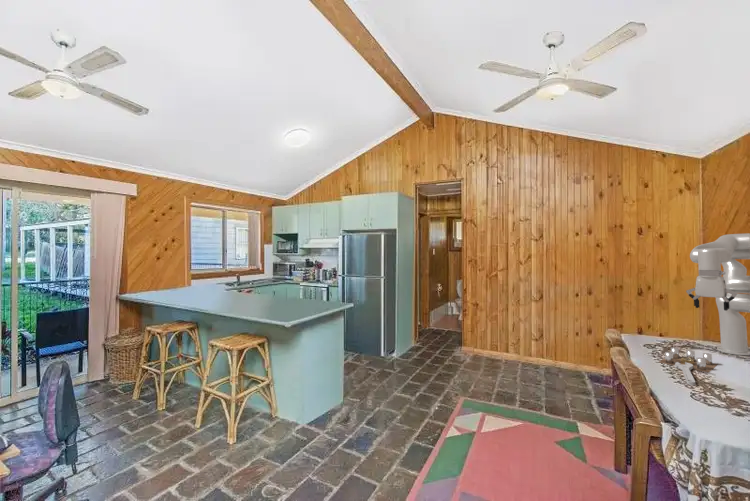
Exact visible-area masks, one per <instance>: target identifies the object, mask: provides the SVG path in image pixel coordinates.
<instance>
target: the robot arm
mask: <svg viewBox="0 0 750 501" xmlns="http://www.w3.org/2000/svg"><path fill="white" fill-rule="evenodd" d="M689 259H690V260H691V262H692V263H694V264H698V276H696V278H695V287H693V288H690V289H687V290H685V291H686V294H687V295H688V297H690V299H692V300H693V306H694V307H695V309H699V308H700V297H704V298H715V303H716V307H717V310H718V317H719V318H718V320H719V333H720V334H719V335H720V345H719V346H717V347H716V349H717V350H718V351H719V352H722V353H725V354H729V355H737V356H750V349H749V347H748V332H747V330H748V329H747V320H746V317H744V316H743V315H742V314H741V313H750V275H747V273H748V272H747V271H748V269H747V267H746V266H745V265H744V264H743V263H742V262H740V261H738V260H750V233H749V232H748V233H733V234H732V233H731V234H730V233H728V234H724V235H721V236H719V237H718V238H717V239H716V240H714V241H712V242H708V243H707V242H706V243H702V244H699V245H697V246H695V247H694V248H693V249H692V250H691V251H690V253H689ZM721 266H722V267H721ZM722 268H723V270H722ZM693 292H695V295H694V294H693Z"/></svg>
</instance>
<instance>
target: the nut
mask: <svg viewBox="0 0 750 501" xmlns="http://www.w3.org/2000/svg"><path fill="white" fill-rule="evenodd" d="M685 362H687V363H690V364H692V365H693V364H694V360H693V359H690V358H687V357H682V358H681V363H684V364H685Z"/></svg>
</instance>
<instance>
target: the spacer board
mask: <svg viewBox="0 0 750 501" xmlns="http://www.w3.org/2000/svg"><path fill="white" fill-rule="evenodd" d="M681 358H683V357H681V356H679V359H674V358H673V361H674V363H673V364H670V363H666V362H665V358H662V359H661V360H659V361H658V363H661V364H665V365H670V366H674V367H675V363H676V362H679V363H680V364H681V365H685V364H684V363H681ZM717 366H719V363H713V362H712V365H706V370H699V369H697V360H696V359H695V362H694V364H693V369H692V370H694V371H699V372H705V373H710V372H711V371H712V370H714V369H715V368H716V367H717Z"/></svg>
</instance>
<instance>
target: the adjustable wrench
mask: <svg viewBox="0 0 750 501" xmlns="http://www.w3.org/2000/svg"><path fill="white" fill-rule="evenodd" d="M674 368H675V369H678V370H681V371H682V373H683V375H684V380H685V382H686V384H687V385H690V386H696V380H695V378H694V376H693V374H692V372H691V370H694V369H693V365H692V364H690V363H687V362H685V365H681V364H680V363H679V362H676V363H675V366H674Z"/></svg>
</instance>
